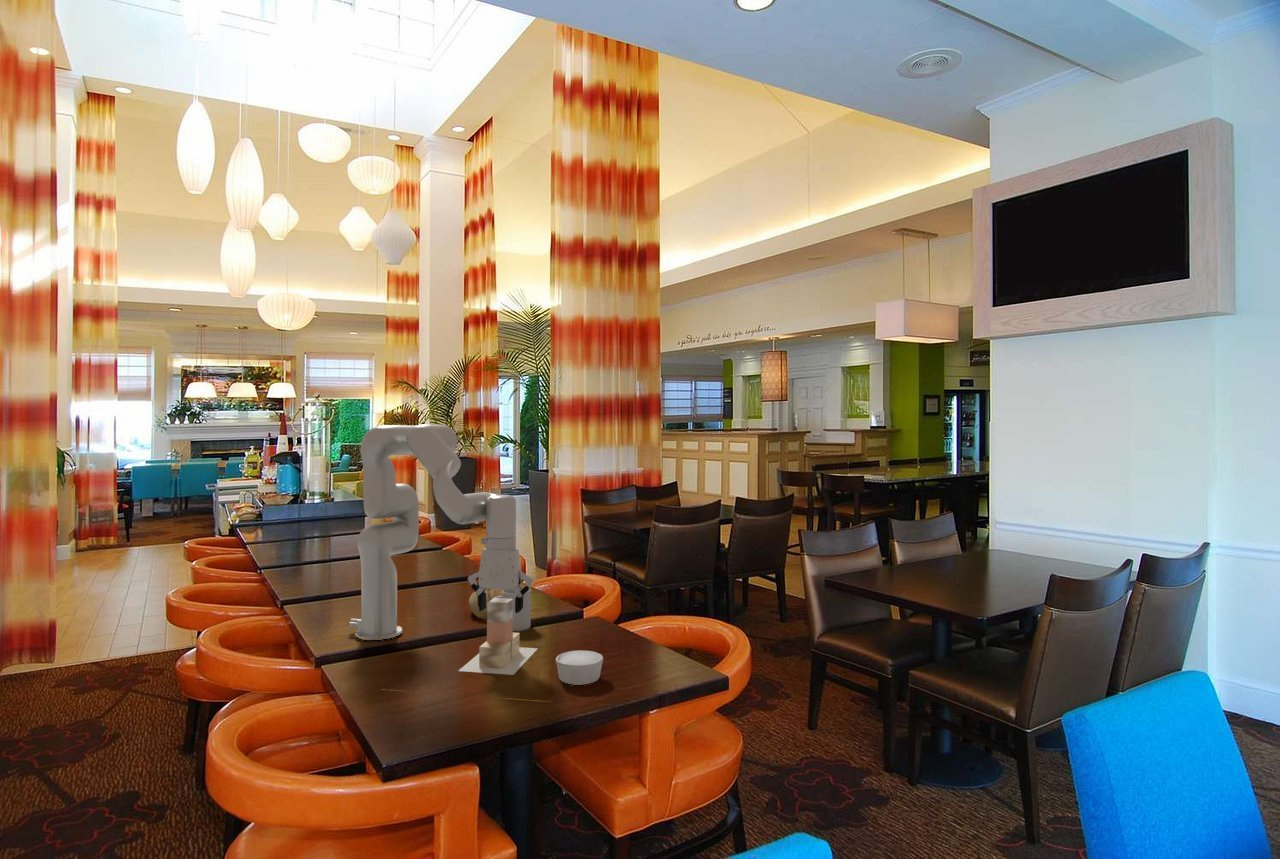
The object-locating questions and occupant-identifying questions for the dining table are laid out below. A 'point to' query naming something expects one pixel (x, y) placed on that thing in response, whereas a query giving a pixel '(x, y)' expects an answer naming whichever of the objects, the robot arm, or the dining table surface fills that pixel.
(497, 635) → the terracotta cube
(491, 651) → the maple block
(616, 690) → the dining table surface
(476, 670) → the felt mat
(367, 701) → the dining table surface
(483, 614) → the bread roll
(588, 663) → the ramekin
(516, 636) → the maple block
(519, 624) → the mug
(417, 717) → the dining table surface
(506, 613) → the birch cube
